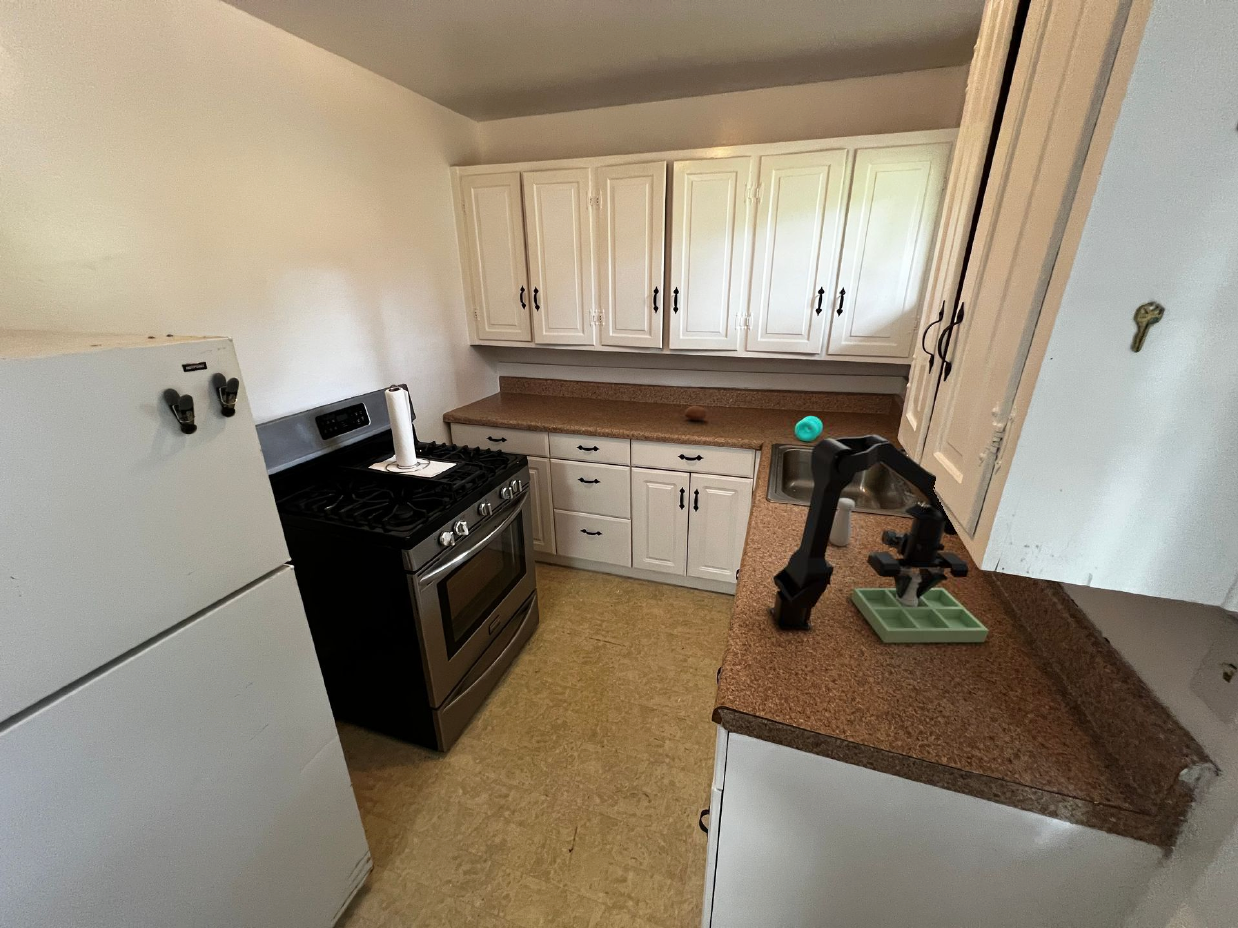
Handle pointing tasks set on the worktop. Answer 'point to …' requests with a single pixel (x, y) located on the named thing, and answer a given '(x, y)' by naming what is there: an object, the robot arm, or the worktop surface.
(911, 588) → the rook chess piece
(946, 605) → the grid
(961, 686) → the worktop surface
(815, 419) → the cyan rounded blob
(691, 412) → the potato
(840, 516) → the salt shaker
